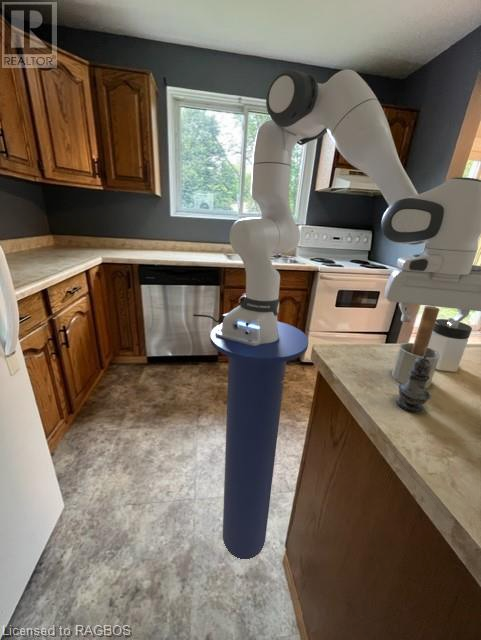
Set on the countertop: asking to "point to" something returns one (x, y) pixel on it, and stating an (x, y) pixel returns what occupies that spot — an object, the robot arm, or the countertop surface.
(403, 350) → the tin
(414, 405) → the grey stone figurine
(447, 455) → the countertop surface
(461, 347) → the jar
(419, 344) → the stick
